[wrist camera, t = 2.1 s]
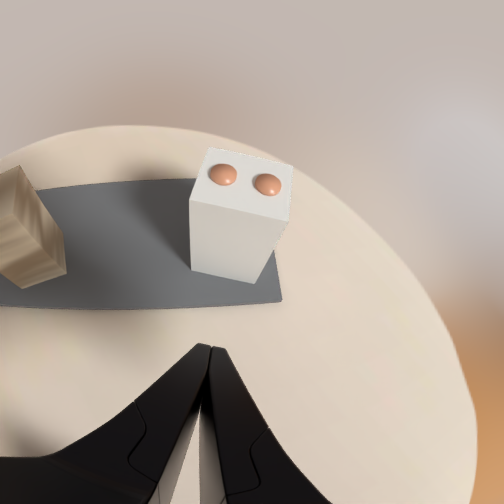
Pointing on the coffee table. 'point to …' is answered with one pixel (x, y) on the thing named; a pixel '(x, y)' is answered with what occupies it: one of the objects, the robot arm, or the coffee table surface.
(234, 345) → the coffee table surface
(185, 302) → the mat
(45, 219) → the tile one
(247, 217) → the tile two
